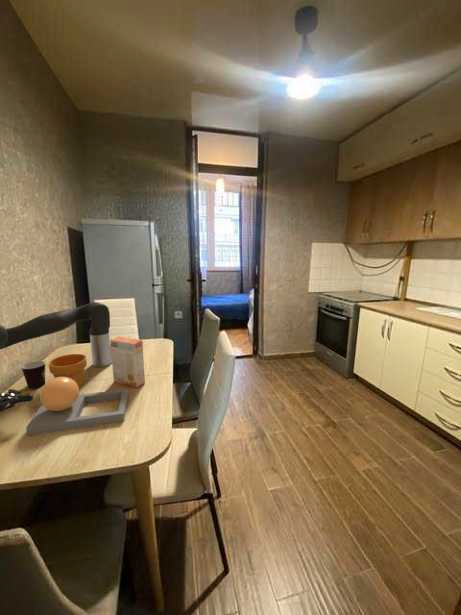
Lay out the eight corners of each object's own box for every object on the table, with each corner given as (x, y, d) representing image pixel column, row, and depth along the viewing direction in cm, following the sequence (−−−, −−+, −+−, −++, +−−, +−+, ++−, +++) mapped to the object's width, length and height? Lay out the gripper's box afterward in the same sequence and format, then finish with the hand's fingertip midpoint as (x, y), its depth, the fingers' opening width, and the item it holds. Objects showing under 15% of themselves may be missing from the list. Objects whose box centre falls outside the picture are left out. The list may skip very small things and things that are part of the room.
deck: (27, 435, 90) (26, 427, 89) (47, 405, 107) (46, 398, 106) (124, 420, 98) (123, 413, 97) (128, 395, 115) (127, 388, 114)
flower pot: (50, 385, 122) (46, 358, 119) (84, 376, 131) (82, 351, 128) (55, 399, 111) (50, 369, 109) (92, 388, 120) (89, 360, 117)
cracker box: (145, 382, 125) (143, 340, 121) (136, 388, 120) (133, 344, 116) (123, 376, 131) (120, 335, 127) (113, 382, 126) (109, 339, 121)
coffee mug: (36, 391, 117) (32, 369, 115) (19, 389, 119) (16, 367, 117) (58, 378, 128) (55, 359, 126) (42, 377, 130) (39, 357, 128)
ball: (72, 396, 108) (69, 368, 105) (86, 407, 101) (82, 377, 98) (37, 409, 99) (32, 379, 96) (49, 423, 91) (44, 390, 89)
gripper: (-43, 405, 84) (22, 397, 89) (-18, 385, 97) (38, 379, 102) (-38, 426, 86) (25, 417, 91) (-14, 403, 98) (40, 397, 103)
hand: (32, 397), depth 96 cm, fingers closed
